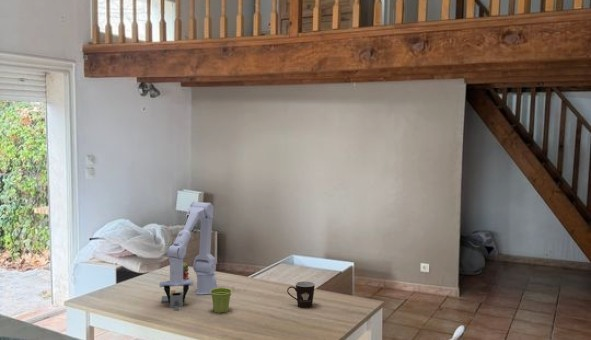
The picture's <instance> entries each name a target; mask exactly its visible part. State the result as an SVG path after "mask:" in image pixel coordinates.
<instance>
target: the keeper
mask: <svg viewBox="0 0 591 340" xmlns="http://www.w3.org/2000/svg"><path fill="white" fill-rule="evenodd" d="M170 293H176V289H170ZM161 304H170V303H169V301H168V297H167V295H163V296H161Z"/></svg>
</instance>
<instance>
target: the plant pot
mask: <svg viewBox="0 0 591 340" xmlns="http://www.w3.org/2000/svg"><path fill="white" fill-rule="evenodd" d="M210 293H211V294H210V296H211V299H212V308H213V311H214V312H215V313H219V314H221V313H227V312H228V311H229V305H230V298H231V296H232V293H233V290H232V289H231V288H226V287H217V288H216V289H212V290H211V291H210Z"/></svg>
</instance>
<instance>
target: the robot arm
mask: <svg viewBox="0 0 591 340" xmlns="http://www.w3.org/2000/svg"><path fill="white" fill-rule="evenodd" d="M214 208H215V206H213V204H212V203H211V202H202V201H200V202H198V201H192V202H191V203H190V204H189V208H188V213H189V214H188V217H187V219H186V221H185V224H184V226H183V229H181V230H179V232H178V234H177V235H176V238H175V240H174V241H173V243H172V244H171V245H170V246H168V248H167V252H166V255H167V257H168V262H169V280H167V281H160V282H159V288H163V290H164V292H165V296H167V297H168V301H169V303H168V304H170V293H171V287H182V292H183V304H184V303H185V301H186V296H187V293H188V291H189V288H190V287H194V280H189V279H184V276H183V263H184V258H185V257H186V255H187V248H188V244H189V243H190V239H191V238H192V234H191V232H192V231H193V229H194V228H195V225H196V224H197V222H198V221H200V228H199V229H200V232H199V234H200V235H199V250H198V251H199V252H198V253H199V254H197V255H196V256H194V260H193V263H192V268H193V271H194V273H195V275H196V289H195V295H198V296H199V295H211V293H210V291H211V290H212V289H216V288H218V285H217V273H215V272H216V270H217V264H216V257H214V255H213V254H211V248H212V244H211V243H212V230H213V229H212V227H213V219H214Z"/></svg>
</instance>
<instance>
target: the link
mask: <svg viewBox="0 0 591 340" xmlns="http://www.w3.org/2000/svg"><path fill="white" fill-rule="evenodd" d="M183 305H184V303H183V291H179V292H176V291H175V293H171V292H170V303H169V307H170V308H172V309H173V308H174V309H173V311H179V308H183V307H184V306H183Z"/></svg>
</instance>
